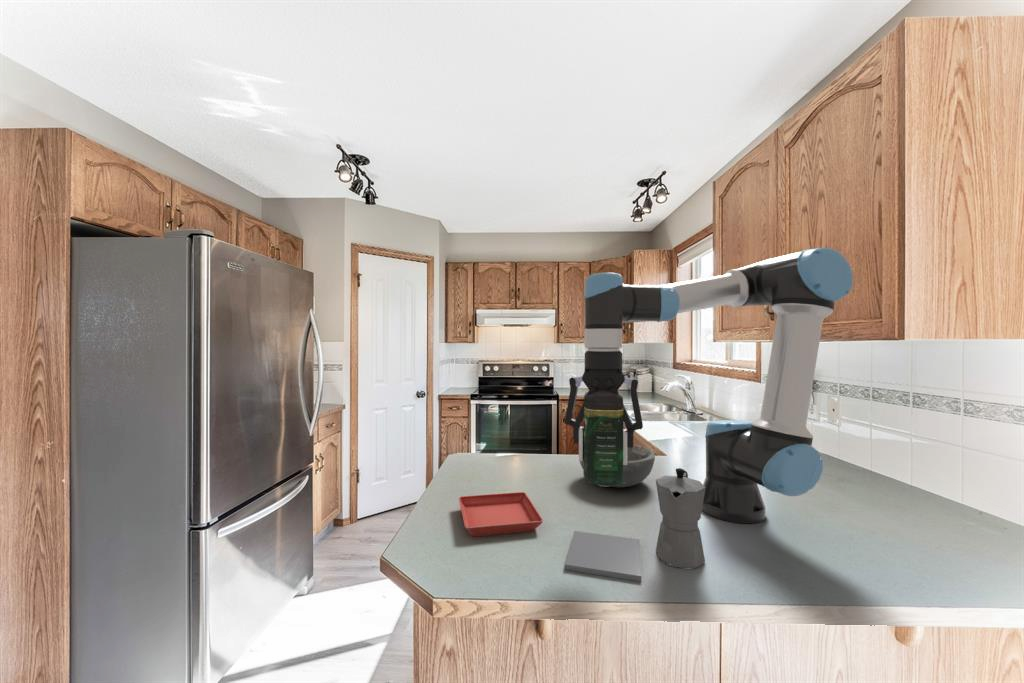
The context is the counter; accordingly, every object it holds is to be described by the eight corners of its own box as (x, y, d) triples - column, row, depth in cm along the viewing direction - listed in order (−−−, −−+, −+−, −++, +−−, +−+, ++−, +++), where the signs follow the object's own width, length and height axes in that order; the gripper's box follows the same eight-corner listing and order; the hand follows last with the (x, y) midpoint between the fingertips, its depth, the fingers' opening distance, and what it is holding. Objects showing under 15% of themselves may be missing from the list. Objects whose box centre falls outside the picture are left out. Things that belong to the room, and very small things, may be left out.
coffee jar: (626, 489, 78) (626, 392, 77) (584, 487, 79) (584, 391, 78) (619, 472, 87) (619, 386, 87) (582, 470, 88) (582, 385, 88)
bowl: (584, 467, 139) (584, 438, 139) (653, 474, 132) (653, 443, 132) (573, 491, 117) (573, 457, 117) (655, 501, 110) (655, 464, 110)
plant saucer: (525, 502, 110) (525, 490, 110) (544, 534, 93) (544, 520, 93) (458, 508, 106) (458, 496, 106) (465, 543, 89) (465, 528, 89)
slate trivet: (639, 543, 87) (639, 539, 87) (641, 581, 74) (641, 576, 74) (574, 535, 91) (574, 530, 91) (564, 569, 78) (564, 564, 78)
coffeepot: (703, 580, 74) (703, 482, 74) (649, 566, 79) (649, 474, 79) (707, 543, 88) (708, 460, 88) (662, 533, 92) (662, 454, 92)
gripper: (656, 349, 83) (656, 460, 84) (556, 349, 89) (555, 451, 90) (658, 351, 76) (658, 471, 76) (549, 350, 82) (549, 461, 82)
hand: (603, 460), depth 83 cm, fingers closed on coffee jar, 8 cm apart
